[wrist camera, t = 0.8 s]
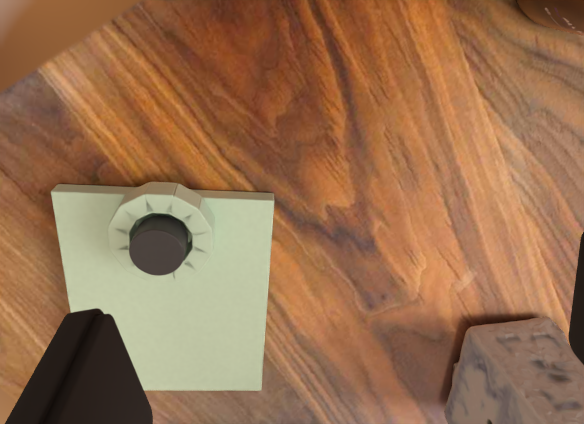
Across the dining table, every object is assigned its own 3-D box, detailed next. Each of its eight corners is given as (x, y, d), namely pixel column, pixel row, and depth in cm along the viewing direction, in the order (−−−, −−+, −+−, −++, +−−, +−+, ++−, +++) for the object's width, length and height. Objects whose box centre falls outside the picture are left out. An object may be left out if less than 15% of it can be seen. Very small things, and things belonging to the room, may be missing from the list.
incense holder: (531, 403, 41) (612, 531, 32) (436, 406, 40) (491, 538, 31) (567, 312, 36) (673, 430, 27) (461, 313, 36) (533, 435, 26)
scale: (55, 168, 28) (34, 189, 26) (274, 178, 30) (276, 199, 27) (87, 378, 36) (74, 411, 33) (261, 378, 37) (261, 410, 35)
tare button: (133, 213, 27) (126, 229, 26) (187, 215, 28) (183, 231, 26) (137, 258, 29) (130, 275, 27) (188, 260, 29) (184, 276, 27)
